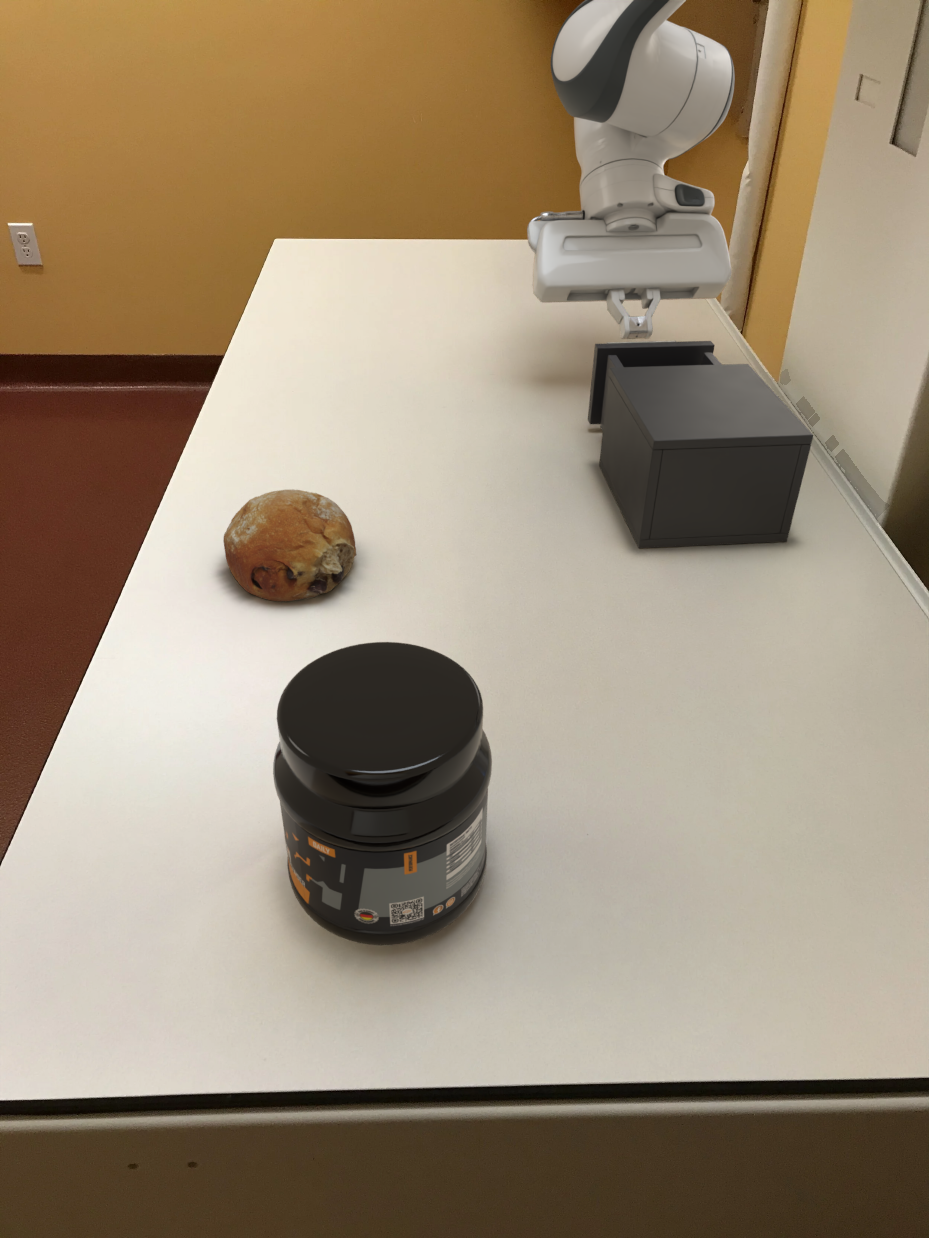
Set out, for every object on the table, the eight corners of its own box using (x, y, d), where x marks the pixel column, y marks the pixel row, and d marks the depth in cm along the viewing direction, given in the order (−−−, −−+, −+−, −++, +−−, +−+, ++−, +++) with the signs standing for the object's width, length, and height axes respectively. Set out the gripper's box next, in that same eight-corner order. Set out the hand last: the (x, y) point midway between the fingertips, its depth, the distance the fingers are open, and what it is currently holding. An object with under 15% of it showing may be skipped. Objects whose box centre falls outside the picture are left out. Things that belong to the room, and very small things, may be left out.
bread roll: (349, 574, 81) (335, 479, 79) (374, 591, 71) (358, 483, 69) (230, 594, 78) (213, 496, 76) (239, 614, 68) (219, 502, 67)
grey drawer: (578, 402, 99) (585, 328, 94) (685, 399, 100) (697, 325, 96) (619, 484, 85) (629, 401, 80) (743, 479, 86) (761, 397, 81)
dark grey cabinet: (598, 465, 90) (609, 367, 84) (728, 460, 91) (748, 363, 85) (638, 548, 78) (653, 440, 72) (787, 541, 79) (814, 435, 74)
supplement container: (301, 798, 55) (281, 632, 48) (483, 797, 56) (489, 632, 49) (276, 957, 47) (246, 785, 40) (490, 956, 47) (499, 784, 40)
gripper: (530, 194, 95) (541, 325, 93) (728, 192, 97) (744, 320, 95) (521, 229, 102) (531, 352, 100) (708, 226, 104) (721, 347, 101)
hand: (636, 336), depth 97 cm, fingers closed
